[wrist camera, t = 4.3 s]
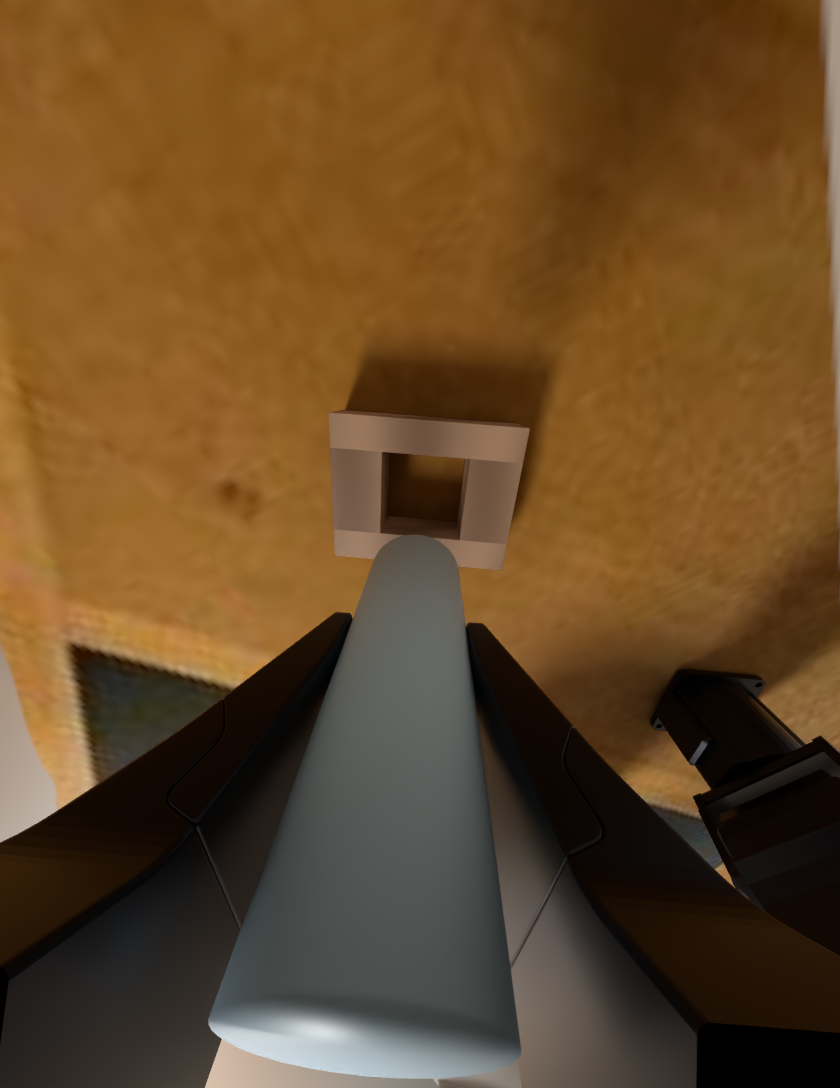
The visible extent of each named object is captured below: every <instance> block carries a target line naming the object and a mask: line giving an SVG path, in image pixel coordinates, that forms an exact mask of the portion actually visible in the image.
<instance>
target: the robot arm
mask: <svg viewBox="0 0 840 1088" xmlns="http://www.w3.org/2000/svg"><path fill="white" fill-rule="evenodd" d="M351 622H352V615H351V614H350V613H342V612H336V613H334V614H333V615H331V616H330V617H329V618H327V619H326V620H325V621H323V622H322V623H321V624H319V625H318V626H317V627H315V628H314V629H313V630H311V631H310V632H309V633H308V634H306V635H305V636H304V637H302V638H301V639H300V640H298V641H297V642H296V643H294V644H293V645H292V646H290V647H289V648H288V649H286V650H285V651H284V652H282V653H281V654H280V655H279V656H277V657H276V658H275V659H273V660H272V661H271V662H269V663H268V664H267V665H265V666H264V667H263V668H261V669H260V670H259V671H257V672H256V673H255V674H253V675H252V676H251V677H250V678H248V679H247V680H246V681H244V682H243V683H242V684H240V685H239V686H238V687H236V688H235V689H234V690H232V691H231V692H230V693H228V694H227V695H226V696H225V697H224V700H222V699H221V700H219V701H218V702H216V703H215V704H214V705H212V706H211V707H210V708H208V709H207V710H206V711H204V712H203V713H202V714H200V715H199V716H198V717H196V718H195V719H194V720H192V721H191V722H189V723H188V724H187V725H185V726H184V727H183V728H181V729H180V730H178V731H177V732H176V733H174V734H173V735H171V736H170V737H168V738H167V739H165V740H164V741H162V742H161V743H159V744H158V745H156V746H155V747H153V748H152V749H150V750H149V751H148V752H146V753H145V754H143V755H142V756H140V757H139V758H137V759H135V760H134V761H132V762H131V763H129V764H128V765H126V766H125V767H123V768H122V769H120V770H119V771H117V772H116V773H114V774H113V775H111V776H109V777H108V778H106V779H105V780H103V781H102V782H100V783H99V784H97V785H96V786H94V787H93V788H91V789H90V790H88V791H87V792H85V793H84V794H82V795H80V796H79V797H77V798H76V799H74V800H73V801H71V802H70V803H68V804H67V805H65V806H64V807H62V808H61V809H59V810H58V811H56V812H55V813H53V814H51V815H50V816H48V817H47V818H45V819H43V820H42V821H40V822H39V823H37V824H35V825H33V826H32V827H30V828H28V829H26V830H24V831H22V832H21V833H19V834H17V835H15V836H13V837H11V838H9V839H7V840H5V841H3V842H1V843H0V1088H204V1087H205V1085H206V1082H207V1079H208V1077H209V1073H210V1071H211V1068H212V1065H213V1062H214V1059H215V1057H216V1053H217V1051H218V1048H219V1045H220V1042H221V1038H220V1037H218V1036H217V1035H216V1034H215V1033H214V1032H213V1031H212V1030H211V1028H210V1026H209V1022H208V1019H209V1016H210V1013H211V1011H212V1008H213V1005H214V1002H215V999H216V997H217V994H218V991H219V988H220V986H221V983H222V980H223V977H224V975H225V972H226V969H227V966H228V963H229V961H230V958H231V955H232V952H233V950H234V947H235V944H236V941H237V938H238V936H239V933H240V930H241V927H242V925H243V922H244V919H245V916H246V914H247V911H248V908H249V905H250V902H251V900H252V897H253V894H254V891H255V889H256V886H257V883H258V880H259V878H260V875H261V872H262V869H263V866H264V864H265V861H266V858H267V855H268V853H269V850H270V847H271V844H272V841H273V839H274V836H275V833H276V830H277V828H278V825H279V822H280V819H281V817H282V814H283V811H284V808H285V805H286V803H287V800H288V797H289V794H290V792H291V789H292V786H293V783H294V780H295V778H296V775H297V772H298V769H299V767H300V764H301V761H302V758H303V756H304V753H305V750H306V747H307V744H308V742H309V739H310V736H311V733H312V731H313V728H314V725H315V722H316V719H317V717H318V714H319V711H320V708H321V706H322V703H323V700H324V697H325V695H326V692H327V689H328V686H329V683H330V681H331V678H332V675H333V672H334V670H335V667H336V664H337V661H338V658H339V656H340V653H341V650H342V647H343V645H344V642H345V639H346V636H347V634H348V631H349V628H350V625H351ZM466 632H467V640H468V647H469V655H470V663H471V670H472V678H473V685H474V693H475V701H476V708H477V716H478V723H479V731H480V739H481V746H482V754H483V762H484V769H485V777H486V784H487V792H488V800H489V807H490V815H491V823H492V830H493V838H494V845H495V853H496V861H497V868H498V876H499V883H500V891H501V899H502V906H503V914H504V922H505V929H506V937H507V944H508V952H509V960H510V967H511V975H512V982H513V990H514V998H515V1005H516V1013H517V1021H518V1028H519V1036H520V1043H521V1054H520V1056H519V1058H518V1066H519V1073H520V1079H521V1086H522V1088H840V751H839V750H838V749H836V748H835V747H834V746H833V745H831V744H830V743H829V742H828V741H827V740H825V739H824V738H823V737H822V736H818V737H816V738H814V739H812V741H813V742H811V743H809V744H805V743H804V742H803V741H802V740H801V739H800V738H799V737H798V736H797V735H796V734H795V733H794V732H792V731H791V730H790V729H789V728H788V727H787V726H786V725H785V724H784V723H783V722H782V721H781V720H780V719H779V718H778V717H777V716H776V715H775V714H774V713H773V712H771V711H770V710H769V709H768V708H767V707H766V706H765V705H764V704H763V703H762V702H761V701H760V700H759V699H758V698H757V697H758V695H759V694H760V692H761V691H762V690H763V688H764V687H765V685H766V682H765V681H764V680H763V679H762V678H761V677H759V676H751V675H740V674H729V673H718V672H707V671H697V670H686V669H684V670H680V671H678V672H677V673H676V675H675V677H674V679H673V680H672V682H671V684H670V686H669V688H668V690H667V692H666V693H665V695H664V697H663V699H662V701H661V703H660V705H659V706H658V708H657V710H656V712H655V714H654V716H653V717H652V719H651V721H650V724H651V726H652V727H653V729H655V730H661V731H667V732H668V733H669V735H670V736H671V738H672V739H673V741H674V742H675V743H676V745H677V746H678V748H679V749H680V751H681V752H682V754H683V755H684V757H685V758H686V760H687V761H688V762H689V763H690V765H694V766H695V767H696V768H697V769H698V771H699V772H700V774H701V775H702V777H703V778H704V780H705V781H706V782H707V784H708V785H709V787H710V788H711V790H710V791H708V792H705V793H703V794H701V793H699V794H697V795H695V796H693V798H694V800H695V803H696V805H697V807H698V809H699V810H698V811H699V813H700V816H701V818H702V820H703V822H704V824H705V826H706V828H707V830H708V832H709V834H710V836H711V838H712V840H713V842H714V844H715V846H716V848H717V850H718V852H719V854H720V856H721V858H722V860H723V862H724V864H725V866H726V868H727V871H728V873H729V874H730V876H731V879H732V882H733V884H734V886H735V888H734V887H733V886H732V885H731V884H730V883H729V882H728V881H726V880H725V879H724V878H723V877H722V876H721V875H720V874H719V873H718V872H717V871H716V870H715V869H714V868H713V867H711V866H710V865H709V864H708V863H707V862H706V861H705V860H704V859H703V858H702V857H701V856H700V855H699V854H698V853H697V852H696V851H695V850H694V849H693V848H692V847H691V846H690V845H689V844H688V843H687V842H686V841H685V840H684V839H683V838H682V837H681V836H680V835H679V834H678V833H677V832H676V831H675V830H674V829H673V828H672V827H671V826H670V825H668V824H667V823H666V822H665V821H664V820H663V819H662V818H661V817H660V816H659V815H658V814H657V813H656V812H655V811H654V810H653V809H652V808H651V807H650V806H649V805H648V804H647V803H646V802H645V801H644V800H643V799H642V798H641V797H640V796H639V795H638V794H637V793H636V792H635V791H634V790H633V789H632V788H631V787H630V786H629V785H628V784H627V783H626V782H625V781H624V780H623V779H622V778H621V777H620V776H619V775H618V774H617V773H616V772H615V771H614V770H613V769H612V768H611V767H610V766H609V765H608V764H607V763H606V761H605V760H604V759H603V758H602V757H601V756H600V755H599V754H598V753H597V752H596V751H595V750H594V748H593V747H592V746H591V745H590V744H589V743H588V742H587V741H586V740H585V738H584V737H583V736H582V735H581V734H580V733H579V732H578V730H577V729H576V728H572V727H573V725H572V724H571V723H570V722H569V720H568V719H567V718H566V717H565V716H564V715H563V714H562V713H561V711H560V710H559V709H558V708H557V707H556V706H555V705H554V703H553V702H552V701H551V700H550V699H549V698H548V697H547V695H546V694H545V693H544V692H543V691H542V690H541V689H540V688H539V686H538V685H537V684H536V683H535V682H534V681H533V680H532V678H531V677H530V676H529V675H528V674H527V673H526V672H525V670H524V669H523V668H522V667H521V666H520V665H519V664H518V663H517V661H516V660H515V659H514V658H513V657H512V656H511V655H510V653H509V652H508V651H507V650H506V649H505V648H504V647H503V645H502V644H501V643H500V642H499V641H498V640H497V639H496V638H495V636H494V635H493V634H492V633H491V632H490V631H489V630H488V628H487V627H486V626H485V625H484V624H482V623H471V622H470V623H468V624H467V626H466Z"/></svg>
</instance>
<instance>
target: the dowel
mask: <svg viewBox="0 0 840 1088" xmlns="http://www.w3.org/2000/svg"><path fill="white" fill-rule="evenodd" d="M208 1022H209V1026H210V1028H211V1030H212V1031H213V1032H214V1033H215V1034H216V1035H217V1036H218V1037H220V1038H221V1039H223V1040H224V1041H226V1042H228V1043H230V1044H232V1045H234V1046H236V1047H238V1048H240V1049H243V1050H245V1051H248V1052H250V1053H253V1054H256V1055H259V1056H262V1057H266V1058H269V1059H272V1060H276V1061H280V1062H283V1063H288V1064H292V1065H296V1066H301V1067H306V1068H311V1069H317V1070H323V1071H329V1072H336V1073H343V1074H351V1075H361V1076H372V1077H385V1078H413V1079H415V1078H416V1079H417V1078H419V1079H420V1078H449V1077H461V1076H469V1075H476V1074H482V1073H487V1072H491V1071H495V1070H498V1069H501V1068H503V1067H506V1066H508V1065H510V1064H512V1063H514V1062H515V1061H516V1060H517V1059H518V1058H519V1056H520V1054H521V1043H520V1036H519V1028H518V1021H517V1013H516V1005H515V998H514V990H513V982H512V975H511V967H510V960H509V952H508V944H507V937H506V929H505V922H504V914H503V906H502V899H501V891H500V883H499V876H498V868H497V861H496V853H495V845H494V838H493V830H492V823H491V815H490V807H489V800H488V792H487V784H486V777H485V769H484V762H483V754H482V746H481V739H480V731H479V723H478V716H477V708H476V701H475V693H474V685H473V678H472V670H471V663H470V655H469V647H468V640H467V632H466V624H465V617H464V609H463V602H462V594H461V586H460V579H459V571H458V566H457V562H456V560H455V557H454V556H453V554H452V553H451V551H450V550H449V549H448V548H447V547H446V546H445V545H443V544H442V543H441V542H439V541H437V540H435V539H433V538H431V537H427V536H424V535H405V536H400V537H398V538H395V539H393V540H391V541H389V542H388V543H386V544H385V545H384V546H383V547H382V548H381V549H380V550H379V552H378V553H377V555H376V556H375V559H374V561H373V564H372V567H371V570H370V573H369V575H368V578H367V581H366V584H365V586H364V589H363V592H362V595H361V598H360V600H359V603H358V606H357V609H356V611H355V614H354V617H353V620H352V622H351V625H350V628H349V631H348V634H347V636H346V639H345V642H344V645H343V647H342V650H341V653H340V656H339V658H338V661H337V664H336V667H335V670H334V672H333V675H332V678H331V681H330V683H329V686H328V689H327V692H326V695H325V697H324V700H323V703H322V706H321V708H320V711H319V714H318V717H317V719H316V722H315V725H314V728H313V731H312V733H311V736H310V739H309V742H308V744H307V747H306V750H305V753H304V756H303V758H302V761H301V764H300V767H299V769H298V772H297V775H296V778H295V780H294V783H293V786H292V789H291V792H290V794H289V797H288V800H287V803H286V805H285V808H284V811H283V814H282V817H281V819H280V822H279V825H278V828H277V830H276V833H275V836H274V839H273V841H272V844H271V847H270V850H269V853H268V855H267V858H266V861H265V864H264V866H263V869H262V872H261V875H260V878H259V880H258V883H257V886H256V889H255V891H254V894H253V897H252V900H251V902H250V905H249V908H248V911H247V914H246V916H245V919H244V922H243V925H242V927H241V930H240V933H239V936H238V938H237V941H236V944H235V947H234V950H233V952H232V955H231V958H230V961H229V963H228V966H227V969H226V972H225V975H224V977H223V980H222V983H221V986H220V988H219V991H218V994H217V997H216V999H215V1002H214V1005H213V1008H212V1011H211V1013H210V1016H209V1019H208Z"/></svg>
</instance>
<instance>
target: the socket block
mask: <svg viewBox="0 0 840 1088" xmlns="http://www.w3.org/2000/svg"><path fill="white" fill-rule="evenodd" d="M529 431H530V428H527V427H525V426H522V425H519V424H516V423H503V422H490V421H478V420H465V419H452V418H440V417H427V416H414V415H402V414H389V413H377V412H364V411H351V410H341V411H335V412H329V432H330V454H331V477H332V500H333V523H334V546H335V556H346V557H357V558H369V559H375V556H376V555H377V553H378V552H379V550H380V549H381V548H382V547H383V546H384V545H385V544H386V543H388V542H389V541H391V540H393V539H395V538H398V537H400V536H405V535H424V536H427V537H431V538H433V539H435V540H437V541H439V542H441V543H442V544H443V545H445V546H446V547H447V548H448V549H449V550H450V551H451V553H452V554H453V556H454V557H455V560H456V562H457V566H459V567H471V568H482V569H494V570H502V565H503V560H504V555H505V550H506V545H507V540H508V535H509V530H510V525H511V520H512V515H513V510H514V505H515V500H516V495H517V490H518V486H519V481H520V476H521V471H522V466H523V461H524V456H525V451H526V446H527V441H528V436H529ZM390 453H403V454H415V455H427V456H439V457H452V458H464V459H465V463H464V471H463V479H462V487H461V495H460V503H459V510H458V518H457V522H453V521H442V520H430V519H418V518H407V517H395V516H388V486H389V454H390Z"/></svg>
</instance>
